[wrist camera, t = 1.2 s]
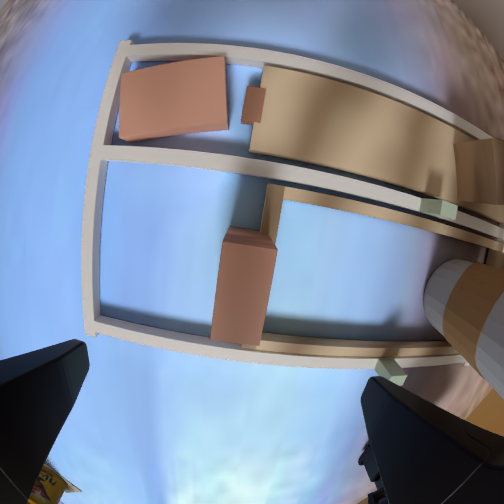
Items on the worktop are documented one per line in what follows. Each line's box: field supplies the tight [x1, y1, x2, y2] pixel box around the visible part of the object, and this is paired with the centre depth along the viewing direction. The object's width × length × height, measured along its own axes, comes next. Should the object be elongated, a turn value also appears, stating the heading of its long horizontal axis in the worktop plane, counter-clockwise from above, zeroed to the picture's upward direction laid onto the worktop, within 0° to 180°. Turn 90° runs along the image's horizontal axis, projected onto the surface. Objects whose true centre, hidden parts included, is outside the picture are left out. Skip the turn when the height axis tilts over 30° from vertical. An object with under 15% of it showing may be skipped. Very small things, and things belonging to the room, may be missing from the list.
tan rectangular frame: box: [210, 184, 504, 357], centre depth 17 cm, size 25×11×6 cm, turn 81°
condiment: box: [27, 463, 82, 504], centre depth 21 cm, size 7×8×12 cm
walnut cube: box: [453, 138, 504, 205], centre depth 15 cm, size 4×4×4 cm
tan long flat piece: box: [241, 65, 504, 223], centre depth 17 cm, size 25×6×1 cm, turn 81°
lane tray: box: [81, 40, 504, 386], centre depth 17 cm, size 37×23×4 cm, turn 81°
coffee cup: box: [423, 259, 504, 399], centre depth 13 cm, size 8×8×15 cm
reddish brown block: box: [119, 56, 229, 143], centre depth 16 cm, size 7×5×2 cm
